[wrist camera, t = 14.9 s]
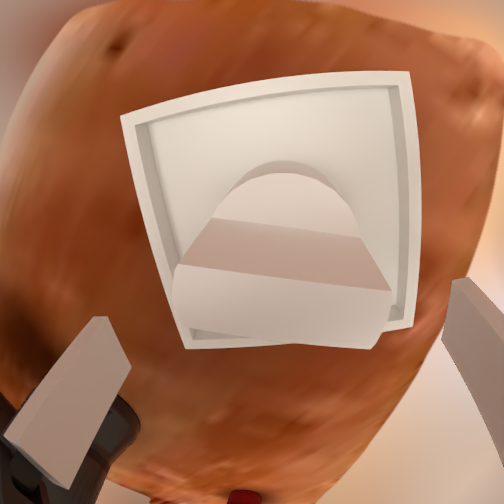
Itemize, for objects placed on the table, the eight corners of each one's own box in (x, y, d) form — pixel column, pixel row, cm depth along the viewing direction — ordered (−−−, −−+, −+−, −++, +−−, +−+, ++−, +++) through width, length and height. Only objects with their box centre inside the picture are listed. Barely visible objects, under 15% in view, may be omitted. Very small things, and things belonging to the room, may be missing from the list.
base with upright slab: (220, 266, 25) (176, 371, 14) (229, 153, 21) (171, 185, 10) (330, 280, 25) (356, 393, 14) (352, 170, 21) (420, 220, 10)
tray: (193, 329, 29) (185, 349, 26) (138, 115, 21) (120, 116, 19) (402, 307, 26) (412, 326, 23) (394, 77, 18) (409, 71, 16)
